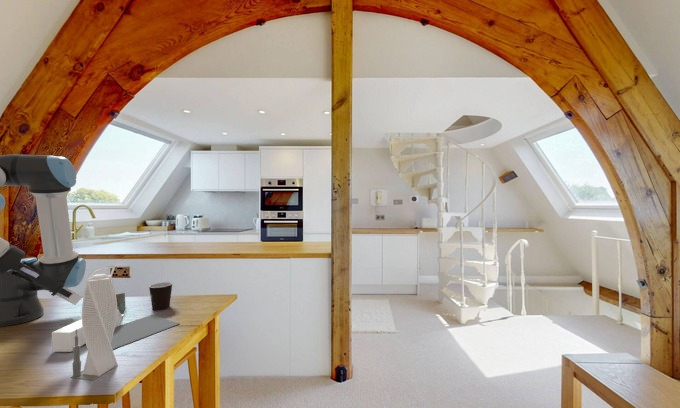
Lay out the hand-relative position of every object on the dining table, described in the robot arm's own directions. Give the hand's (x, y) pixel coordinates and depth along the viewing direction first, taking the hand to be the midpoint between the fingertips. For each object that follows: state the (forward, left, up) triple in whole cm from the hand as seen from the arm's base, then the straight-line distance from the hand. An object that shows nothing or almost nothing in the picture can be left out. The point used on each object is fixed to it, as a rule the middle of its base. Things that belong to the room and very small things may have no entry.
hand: (77, 300), depth 91 cm
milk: (0, -4, -12) cm, 13 cm away
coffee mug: (-36, +14, -16) cm, 41 cm away
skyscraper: (+14, +12, -16) cm, 25 cm away
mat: (-11, +11, -16) cm, 22 cm away
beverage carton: (-31, -3, -16) cm, 35 cm away
